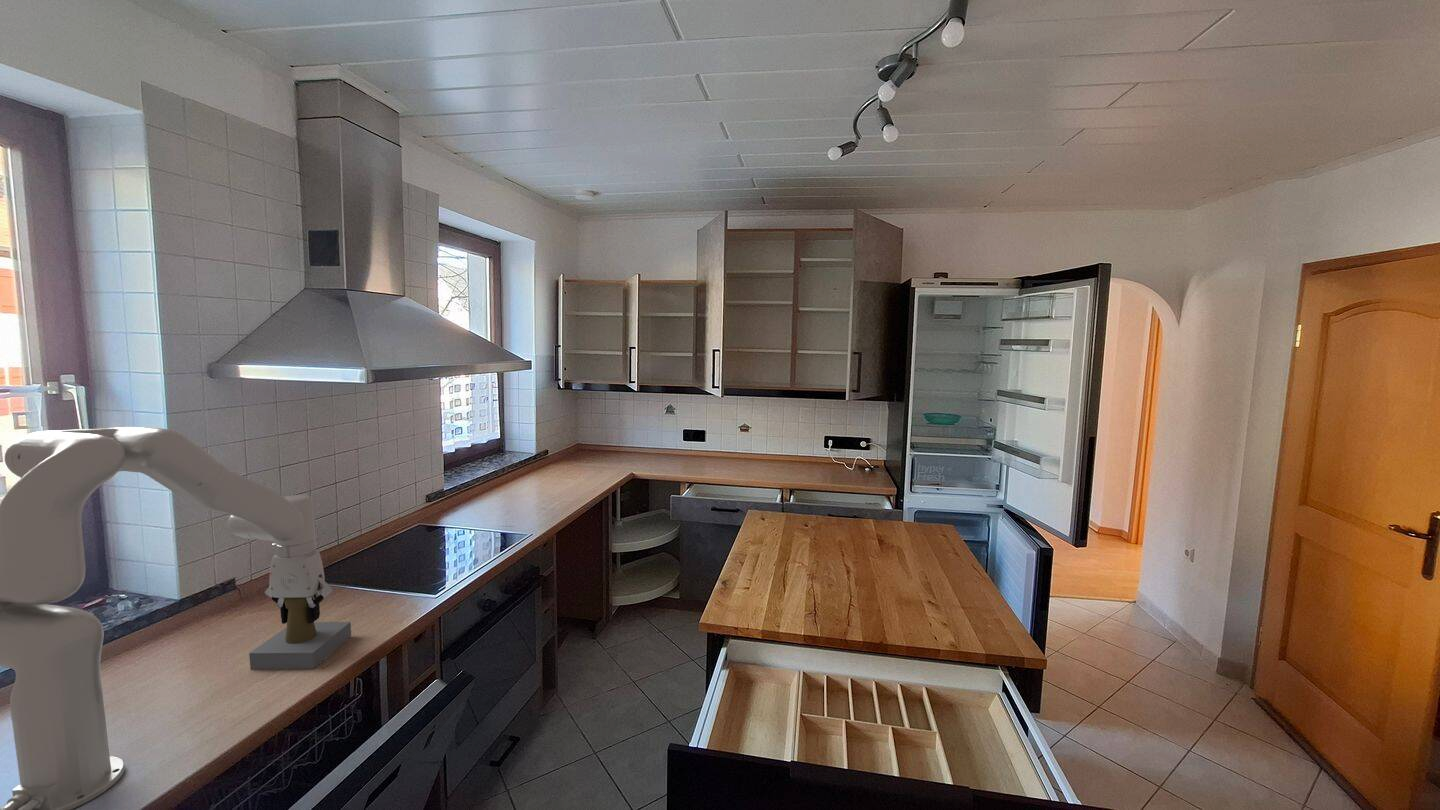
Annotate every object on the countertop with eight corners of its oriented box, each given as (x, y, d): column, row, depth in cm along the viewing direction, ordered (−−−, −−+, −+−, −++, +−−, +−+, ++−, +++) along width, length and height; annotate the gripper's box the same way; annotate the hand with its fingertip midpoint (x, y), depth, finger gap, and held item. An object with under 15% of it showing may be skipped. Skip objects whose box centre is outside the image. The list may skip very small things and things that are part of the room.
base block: (313, 669, 126) (312, 652, 126) (250, 669, 126) (249, 653, 125) (351, 636, 140) (350, 621, 140) (294, 636, 139) (293, 622, 139)
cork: (312, 627, 136) (309, 585, 135) (319, 636, 133) (317, 593, 131) (282, 637, 132) (279, 593, 131) (288, 646, 128) (285, 602, 127)
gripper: (245, 553, 126) (251, 629, 128) (323, 554, 127) (327, 628, 129) (270, 542, 133) (275, 613, 135) (343, 542, 134) (347, 613, 136)
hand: (300, 620), depth 132 cm, fingers open, 5 cm apart
